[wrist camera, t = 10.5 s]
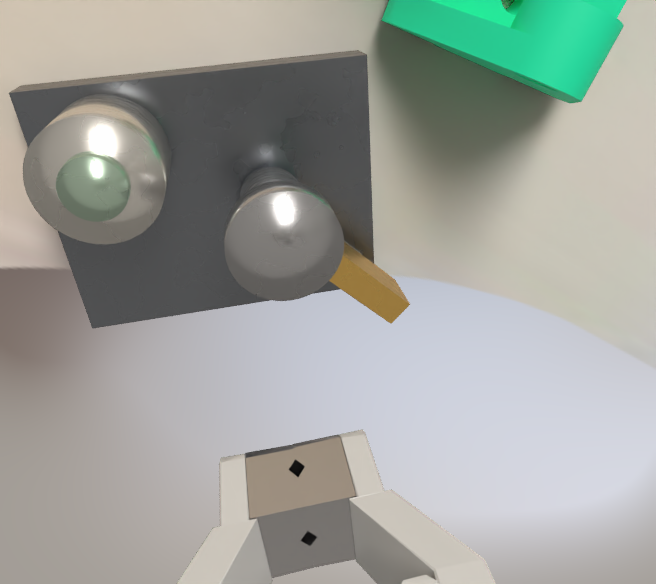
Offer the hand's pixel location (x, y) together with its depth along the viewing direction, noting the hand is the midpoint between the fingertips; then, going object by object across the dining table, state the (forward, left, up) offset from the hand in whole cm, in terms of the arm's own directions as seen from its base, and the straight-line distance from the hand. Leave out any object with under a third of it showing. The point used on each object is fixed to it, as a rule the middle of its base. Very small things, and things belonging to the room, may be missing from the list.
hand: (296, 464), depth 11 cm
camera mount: (-15, -7, -25) cm, 30 cm away
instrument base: (+2, +2, -24) cm, 25 cm away
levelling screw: (-3, +5, -22) cm, 23 cm away
